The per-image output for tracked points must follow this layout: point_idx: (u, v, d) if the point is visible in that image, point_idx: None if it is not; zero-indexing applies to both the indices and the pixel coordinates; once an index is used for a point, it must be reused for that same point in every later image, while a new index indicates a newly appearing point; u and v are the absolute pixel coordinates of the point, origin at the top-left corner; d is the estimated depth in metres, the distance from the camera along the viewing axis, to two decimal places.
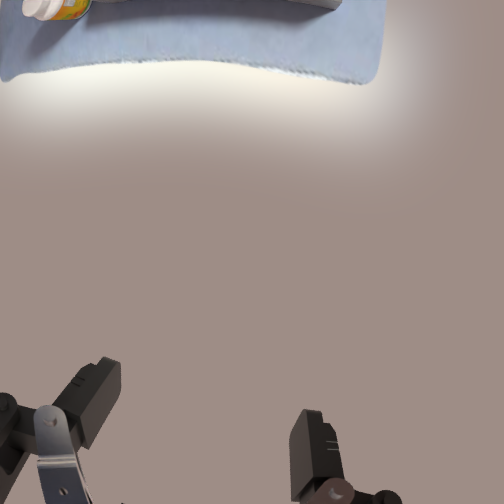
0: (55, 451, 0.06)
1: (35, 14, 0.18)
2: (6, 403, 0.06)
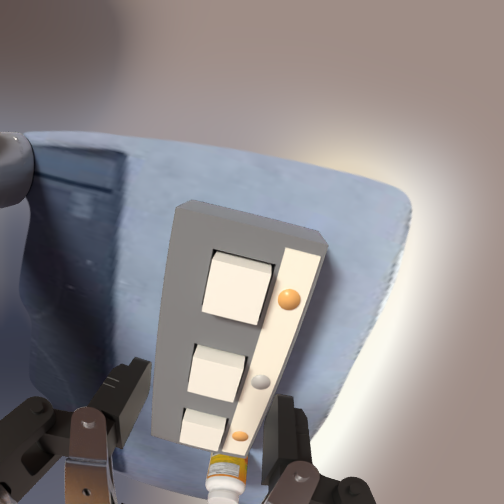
0: (87, 452, 0.06)
1: None
2: (41, 408, 0.07)
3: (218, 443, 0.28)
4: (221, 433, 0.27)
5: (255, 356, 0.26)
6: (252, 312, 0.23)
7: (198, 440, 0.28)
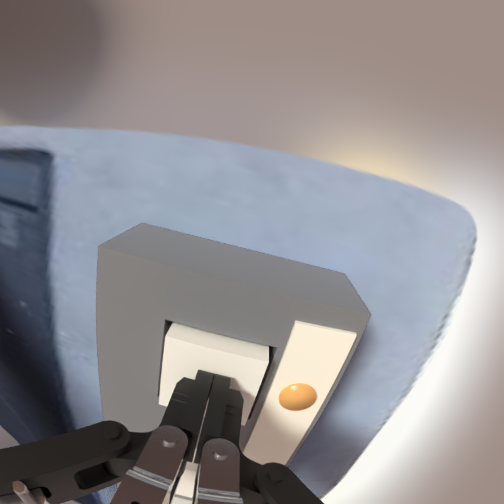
0: (155, 469, 0.07)
1: None
2: (116, 435, 0.07)
3: None
4: None
5: None
6: None
7: None
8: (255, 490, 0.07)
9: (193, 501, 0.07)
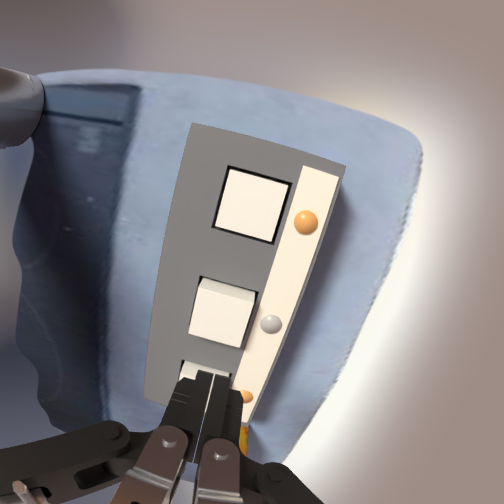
0: (155, 469, 0.07)
1: None
2: (116, 435, 0.07)
3: None
4: None
5: (266, 291, 0.24)
6: (267, 226, 0.23)
7: None
8: (255, 490, 0.07)
9: (193, 501, 0.07)
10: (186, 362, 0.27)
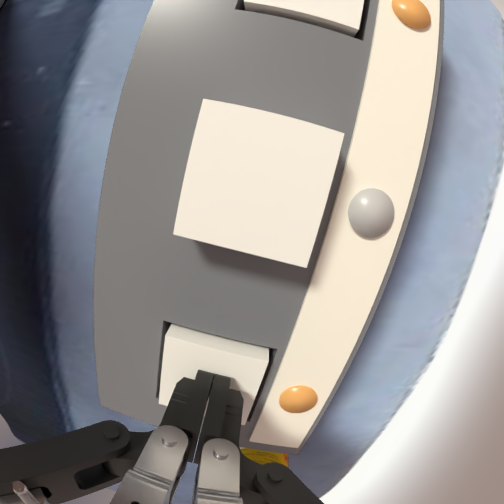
0: (155, 469, 0.07)
1: None
2: (116, 435, 0.07)
3: (249, 403, 0.13)
4: (260, 372, 0.12)
5: (360, 128, 0.09)
6: (348, 5, 0.08)
7: None
8: (255, 490, 0.07)
9: (193, 501, 0.07)
10: None
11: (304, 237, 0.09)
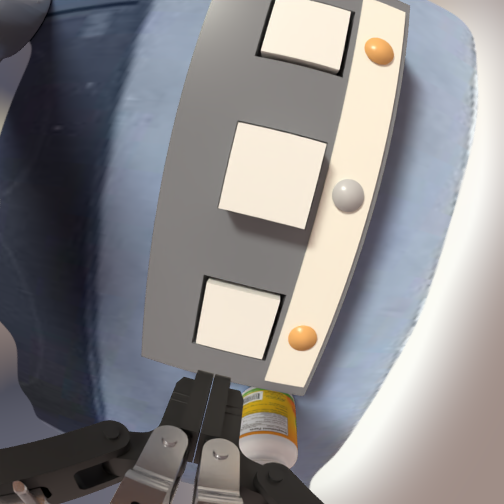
0: (155, 469, 0.07)
1: None
2: (116, 435, 0.07)
3: (266, 337, 0.18)
4: (274, 309, 0.18)
5: (339, 139, 0.15)
6: (332, 51, 0.13)
7: (231, 333, 0.18)
8: (255, 490, 0.07)
9: (193, 501, 0.07)
10: None
11: (302, 209, 0.15)
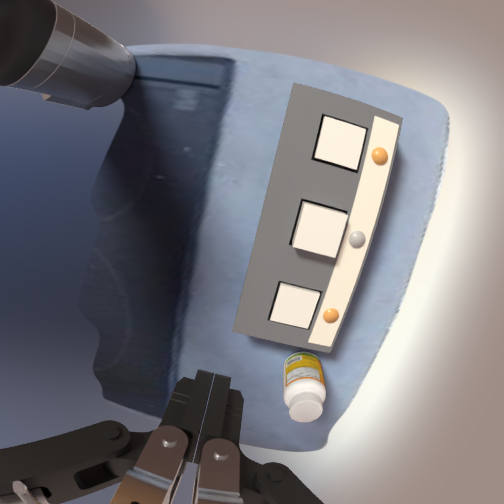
0: (155, 469, 0.07)
1: None
2: (116, 435, 0.07)
3: (311, 315, 0.33)
4: (316, 299, 0.32)
5: (354, 209, 0.29)
6: (353, 158, 0.28)
7: (291, 313, 0.33)
8: (255, 490, 0.07)
9: (193, 501, 0.07)
10: None
11: (334, 248, 0.29)
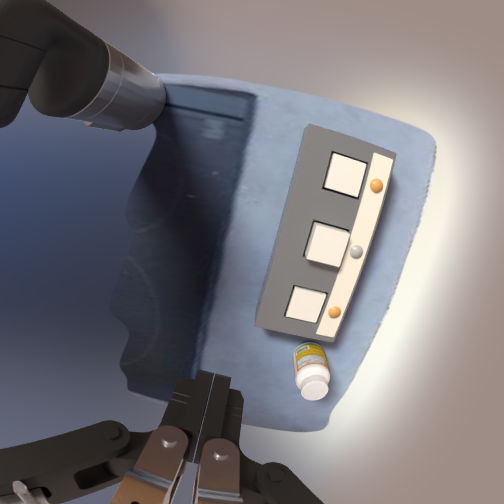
0: (155, 469, 0.07)
1: (327, 388, 0.40)
2: (116, 435, 0.07)
3: (318, 312, 0.40)
4: (323, 299, 0.40)
5: (354, 228, 0.37)
6: (355, 187, 0.35)
7: (303, 310, 0.40)
8: (255, 490, 0.07)
9: (193, 501, 0.07)
10: None
11: (339, 259, 0.37)
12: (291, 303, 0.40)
